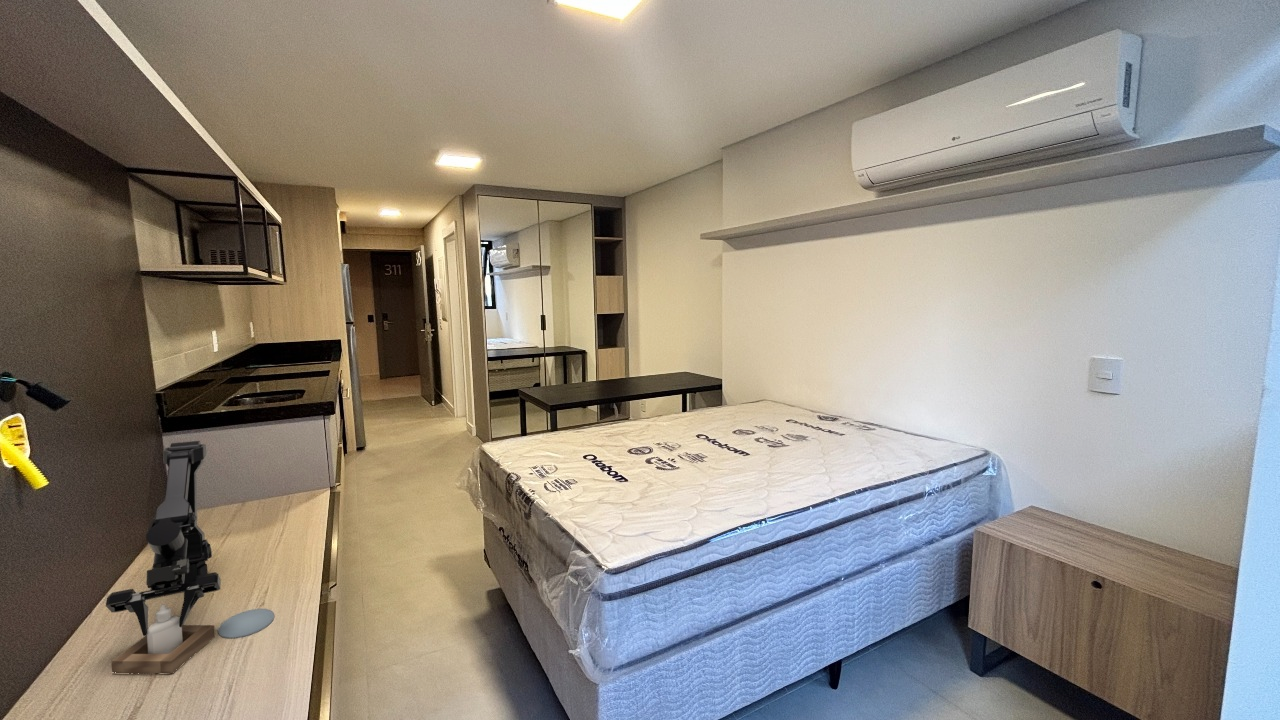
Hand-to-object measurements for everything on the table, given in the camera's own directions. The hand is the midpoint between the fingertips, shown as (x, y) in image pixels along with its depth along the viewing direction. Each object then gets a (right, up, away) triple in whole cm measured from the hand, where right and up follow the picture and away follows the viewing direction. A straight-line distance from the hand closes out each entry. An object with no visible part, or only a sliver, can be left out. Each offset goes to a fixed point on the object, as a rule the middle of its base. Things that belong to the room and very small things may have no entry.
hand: (162, 631), depth 113 cm
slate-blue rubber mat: (+8, -5, +14) cm, 17 cm away
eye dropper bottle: (-1, -7, +2) cm, 7 cm away
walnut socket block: (-1, -6, +2) cm, 7 cm away
